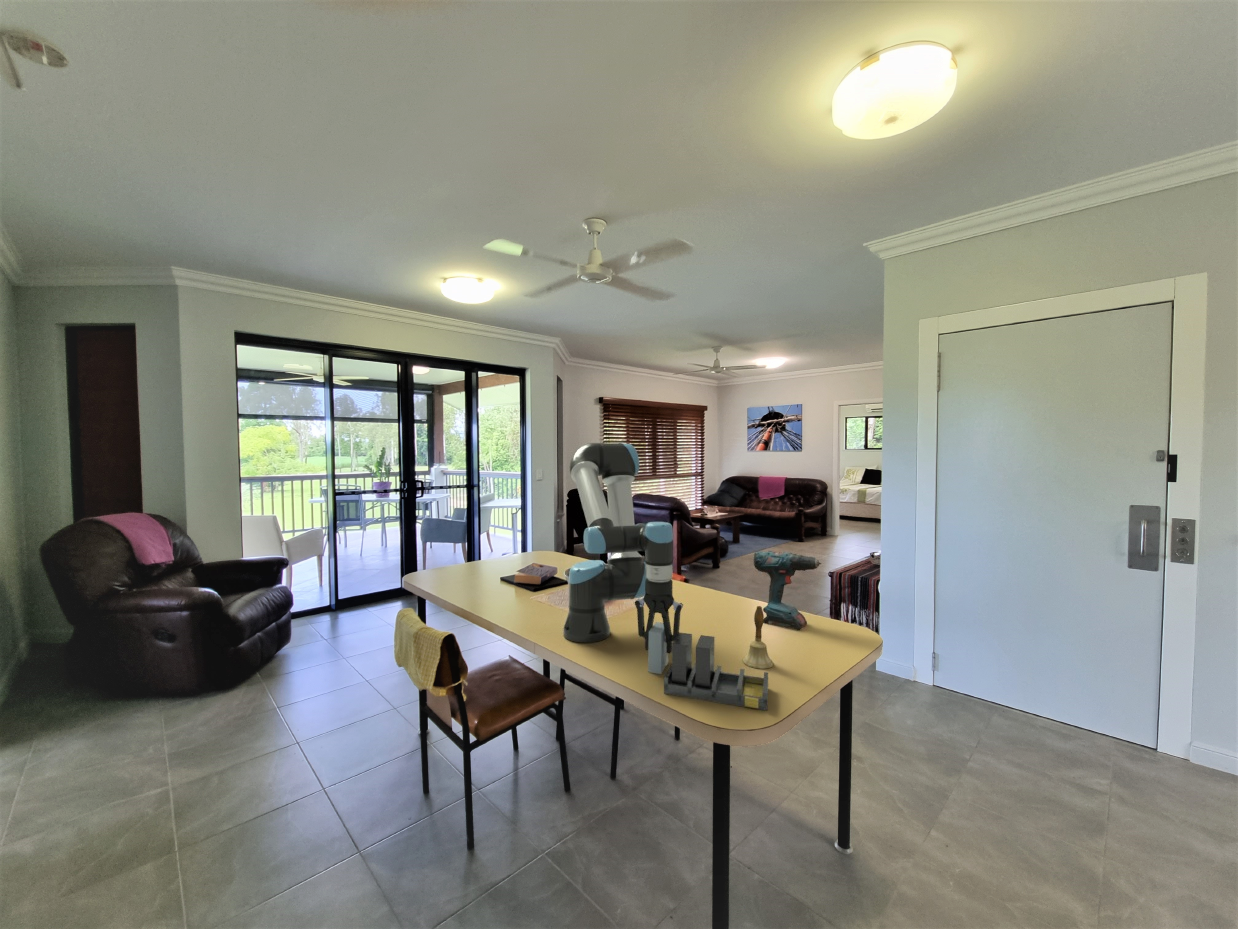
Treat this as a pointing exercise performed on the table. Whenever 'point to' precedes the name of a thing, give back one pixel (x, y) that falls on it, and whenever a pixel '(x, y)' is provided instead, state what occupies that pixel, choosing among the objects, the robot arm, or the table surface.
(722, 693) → the rack
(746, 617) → the table surface
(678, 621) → the robot arm
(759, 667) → the hand bell
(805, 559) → the power drill
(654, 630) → the pale blue block
